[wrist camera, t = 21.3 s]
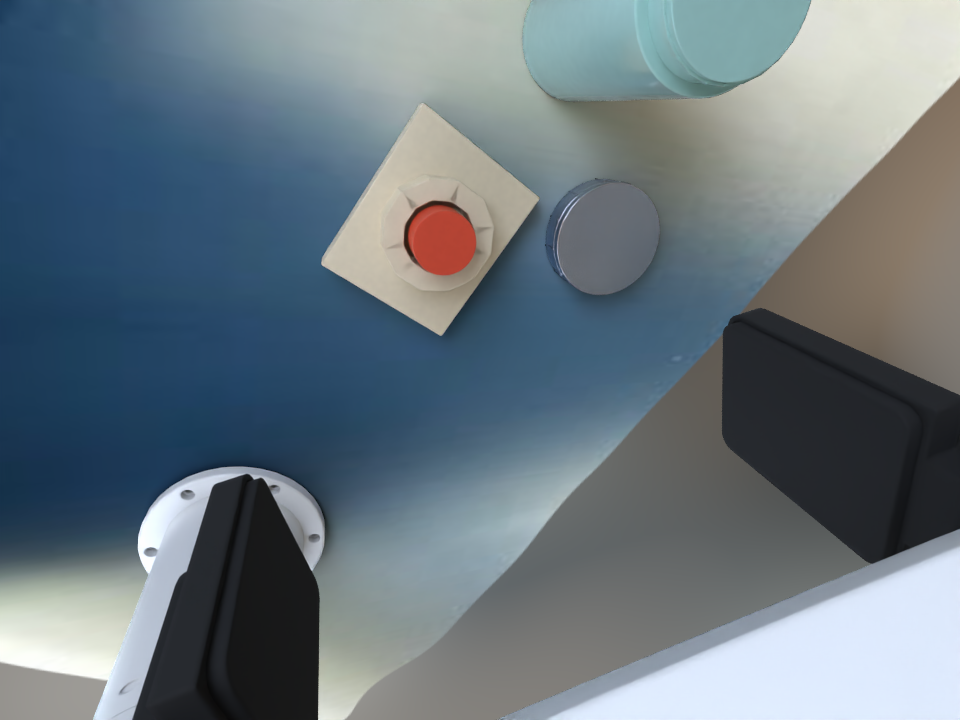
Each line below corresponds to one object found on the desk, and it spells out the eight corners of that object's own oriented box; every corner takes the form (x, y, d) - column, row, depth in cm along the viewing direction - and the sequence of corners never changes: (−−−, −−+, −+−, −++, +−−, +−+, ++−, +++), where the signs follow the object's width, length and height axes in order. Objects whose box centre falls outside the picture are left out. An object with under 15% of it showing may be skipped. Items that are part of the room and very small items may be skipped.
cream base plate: (437, 328, 37) (447, 348, 34) (321, 258, 33) (320, 274, 30) (532, 194, 35) (552, 203, 32) (419, 102, 31) (430, 102, 28)
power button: (445, 277, 32) (452, 287, 31) (395, 244, 31) (399, 253, 29) (479, 228, 32) (488, 235, 30) (430, 192, 30) (437, 197, 28)
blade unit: (531, 207, 35) (542, 212, 33) (630, 160, 35) (647, 162, 34) (563, 303, 39) (575, 313, 37) (653, 259, 39) (669, 266, 37)
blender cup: (580, 125, 34) (733, 136, 21) (499, 49, 31) (621, 6, 18) (649, 27, 32) (860, -25, 19) (572, -63, 29) (760, -194, 17)
